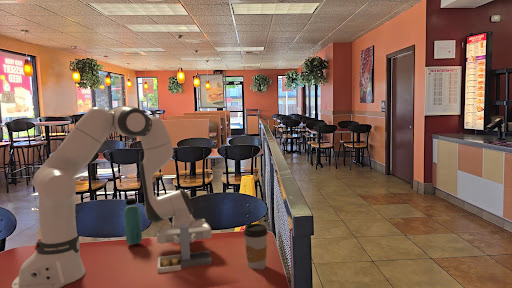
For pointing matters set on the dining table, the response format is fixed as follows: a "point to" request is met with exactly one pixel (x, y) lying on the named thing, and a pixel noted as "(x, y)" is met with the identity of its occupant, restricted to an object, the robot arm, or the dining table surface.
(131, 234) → the beverage bottle
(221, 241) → the dining table surface
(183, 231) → the tall gray pillar
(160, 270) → the ball tray
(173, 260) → the brass sphere
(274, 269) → the dining table surface
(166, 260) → the gold metallic ball
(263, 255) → the coffee cup
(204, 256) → the slot rail
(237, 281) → the dining table surface
